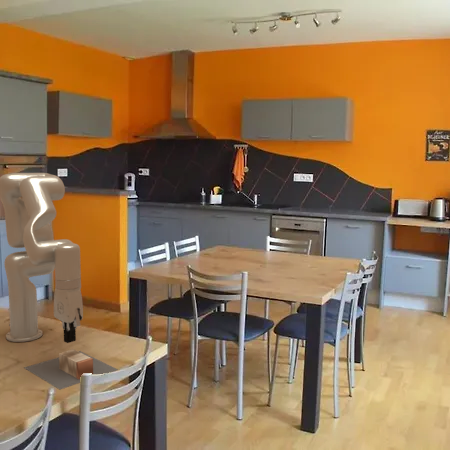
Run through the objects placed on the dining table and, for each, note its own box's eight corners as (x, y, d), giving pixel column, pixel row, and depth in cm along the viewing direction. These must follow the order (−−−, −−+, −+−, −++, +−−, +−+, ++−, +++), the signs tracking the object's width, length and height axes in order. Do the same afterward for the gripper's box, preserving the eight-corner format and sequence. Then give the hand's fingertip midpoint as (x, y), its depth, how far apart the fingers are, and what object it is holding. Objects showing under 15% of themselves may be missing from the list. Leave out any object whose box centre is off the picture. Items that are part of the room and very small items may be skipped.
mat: (23, 369, 167) (23, 367, 167) (80, 352, 181) (80, 350, 181) (59, 391, 152) (59, 389, 152) (118, 371, 167) (118, 369, 166)
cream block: (58, 353, 166) (78, 363, 158) (73, 349, 170) (92, 358, 162) (59, 368, 167) (78, 379, 159) (73, 364, 170) (93, 374, 163)
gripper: (44, 281, 165) (46, 338, 168) (70, 290, 155) (71, 350, 158) (66, 277, 171) (68, 332, 173) (92, 286, 161) (93, 344, 163)
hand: (69, 341), depth 166 cm, fingers closed
